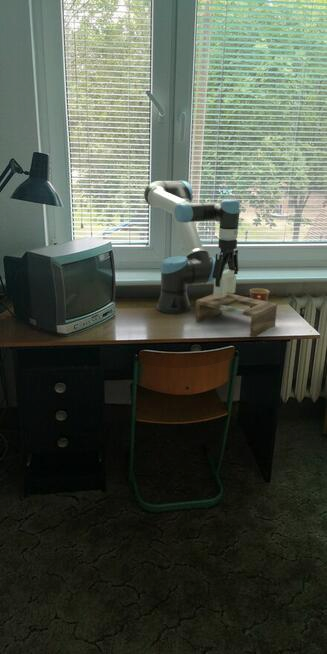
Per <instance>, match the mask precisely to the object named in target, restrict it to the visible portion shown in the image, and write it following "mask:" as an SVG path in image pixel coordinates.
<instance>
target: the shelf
mask: <svg viewBox="0 0 327 654" xmlns="http://www.w3.org/2000/svg"><path fill="white" fill-rule="evenodd" d="M232 304H238V305H244V306H248V307H249V308H248V309H241V308H237V307H234V306H230V305H232ZM250 306H252V308H250ZM277 307H278V303H275V302H271V301H267V302H266V301H262V300H257V299H253V298H251V297H246V296H244V295H243V296H242V295H238V294H235V293H233V294H232V293H228V292H227V293H226V297H220V296H216V295H213V293H211V294H209V295H205V296H204V297H201V298H198V299H197V300H195V323H201V322H203V321H206V320H208V319H210V318H213V317H215V316H218V315H219V314H222V313H223V311H226V312H229V313H232V314H237V315H240V316H241V315H242V316H245V317H249V318H250V327H249V328H250V332H249V337H252V338H255V337H257V336H259V335H260V334H262V333H264V332H267V330H270V329H271V328H273V327H275V326H276V319H277V309H278V308H277Z"/></svg>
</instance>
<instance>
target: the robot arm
mask: <svg viewBox="0 0 327 654" xmlns="http://www.w3.org/2000/svg"><path fill="white" fill-rule="evenodd" d="M143 197H144V201H145V202H146V204H148V205H149V206H151V207H152V208H159V209H162V210H163V211H165V212H167V213H169V214H171V215H172V217H173V219H174V224H175V226H176V228H177V229H176V230H177V232H178V236H179V238H180V241H181V245H182V247H183V250H184V253H185V256H183V255H177V256H170V257H167V258H165V259H163V260H162V262H161V267H160V272H161V273H160V287H161V288H160V294H159V297H158V300H157V303H156V309H157V310H158V311H159V312H162V313H165V314H182V313H187V312H189V311H190V310H191V302H190V300H189V296H188V293H187V291H188V290H187V288H188V286H194V285H202V284H208V283H213V282H214V278H215V279H216V281H215V294H220V295H221V291H222V279H221V277H222V274H223V271H225V267H226V265H228V266H227V267H228V269H230V270H234V276H236V275H238V273H239V259H238V258H239V257H238V254H239V250H238V249H237V247H238V240H237V238H238V234H239V223H240V222H239V220H240V212H241V210H240V206H241V205H240V201H239V200H237V199H231V198H228V199H227V198H225V199H222V200H220V201H221V202H218V201H216V200H213V201H211V200H210V201H207V202H192V201H193V198H194V195H193V189H192V186H191V184H190V183H189V182H188V181H186V180H179V179H178V180H177V179H176V180H156V181H152V182H150V183H149V184H147V186H146V187H145V189H144V192H143ZM214 221H215V222H219V228H218V229H219V230H218V237H219V239H218V244H217V245H218V248H219V249H220V253H216V254H215V257H213V256H210V254H209V252H208V250H206V249H204V247H203V244H202V241H201V238H200V235H199V232H198V229H197V226H196V224H195V223H197V222H214Z"/></svg>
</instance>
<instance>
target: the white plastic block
mask: <svg viewBox="0 0 327 654" xmlns="http://www.w3.org/2000/svg"><path fill="white" fill-rule="evenodd" d="M221 279H222V291H221V295H220V294H215V281H216V279H215V278H214V281H213V292H212V294H213V295H216V296H220V297H226V293H229V294H235V293H236V287H237V286H236V284H237V276H236V275H235V276H234V270H230V269H229V268H228V269H226V270H225V269H224V271H223V274H222V277H221Z"/></svg>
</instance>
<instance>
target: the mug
mask: <svg viewBox="0 0 327 654" xmlns="http://www.w3.org/2000/svg"><path fill="white" fill-rule="evenodd" d="M270 293H271V292H270V290H268V289H267V288H266V289H265V288H260V287H256V288H251V289H249V295H250V298H253V299H257V300H262V301H266V302H268V299H269V298H268V297H269V296H270V295H269V294H270ZM249 308H252V306H249Z"/></svg>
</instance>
